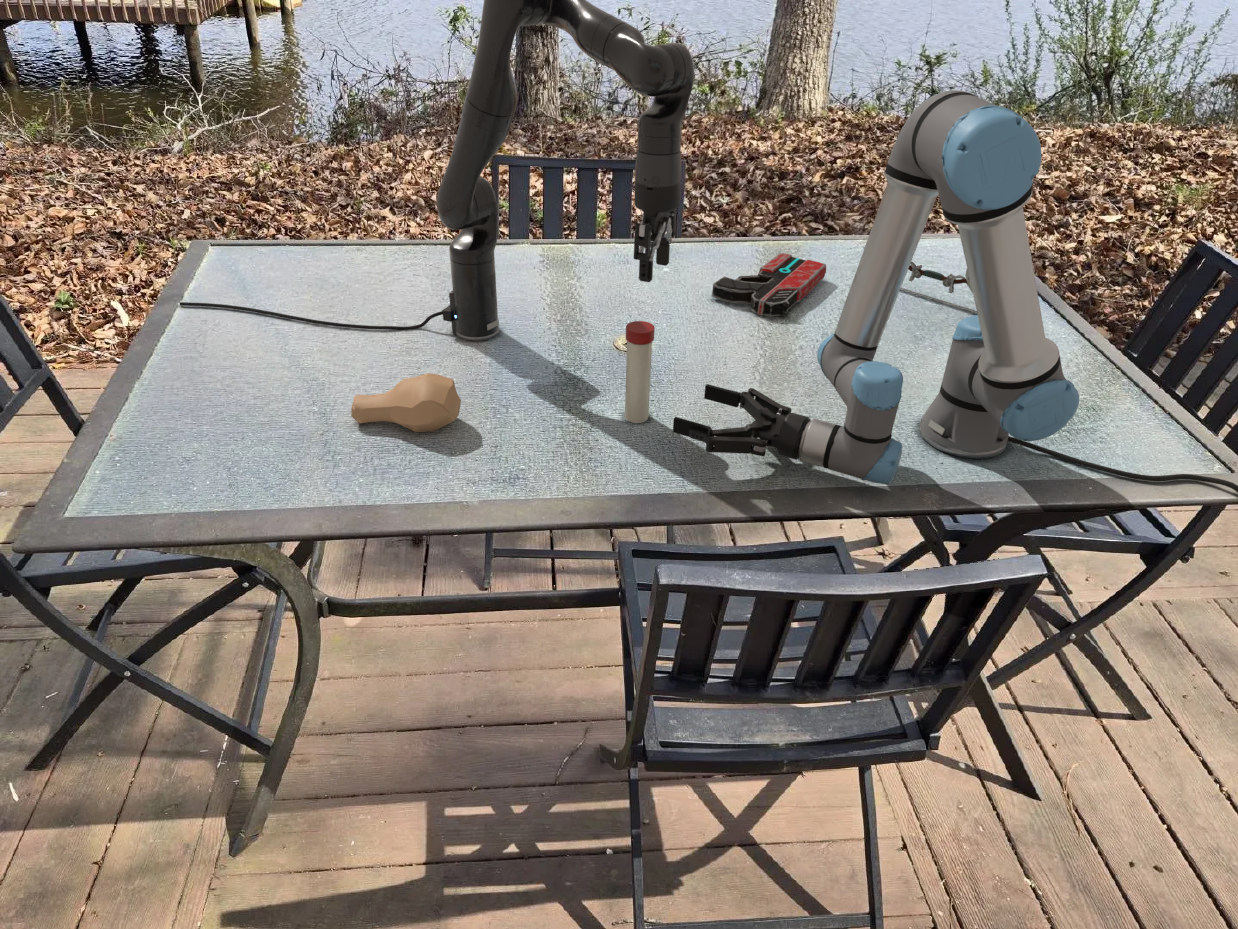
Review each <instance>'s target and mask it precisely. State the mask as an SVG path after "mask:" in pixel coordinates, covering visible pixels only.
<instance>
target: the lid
mask: <svg viewBox="0 0 1238 929" xmlns="http://www.w3.org/2000/svg"><path fill="white" fill-rule="evenodd" d="M655 328H656V327H655V325H654V324H653V323H652V322H649V321H646V320H645V321H644V320H635V321H631V322H628V323H627V324H626V325H625V340H626V342H627V341H628V342H630V343H633V344H639V345H643V344H649V343H651V342H652V343H653V342H654V340H655V330H656V329H655Z"/></svg>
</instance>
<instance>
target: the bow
mask: <svg viewBox="0 0 1238 929" xmlns="http://www.w3.org/2000/svg"><path fill="white" fill-rule="evenodd" d="M864 248H865V246H864V247H863V249H864ZM922 268H923V265H922V264H920V265H919V264H918V265H917V264H916V263H915V262H913V260H912V261H911V263H910V266H909V268H908V271H910V272H911V274H910V276H909V279H908V282H914V281H915V279H920V278H922V277H923V276H924V277H927V278H930V279H933V280H937V281H940V282H941V283H942V285H943V286H944V287H945V288H948V294H953V293H954V292H955V285H959V284H960V285H961V284H966V285H967V287H968V289H969V290H970V291H971V294H973V292H972V287H971V283H970V278H969V274H968V269H967V268H966V271H965V276H963V275H961V274H960V275H954V274H953V273H950V274H948V275H947V276H945V275H944V274H943V273H941V272H938V271H934V270H931V269H924V270H923V269H922ZM900 290H904V291H906V292H910V293H913V294H917V295H919V296H922V297H926V298H930V299H933V300H936V301H938V302H939V301H940V302H942V303H946V304H949V305H953V306H955V307H959V308H963V309H965V310H967V311H968V310H969V311H972V312H975V313H977V310H974V309H971V308H968V307H964V306H961V305H958V304H955V303H952V302H948V301H946V300H945V301H944V300H942V299H938V298H935V297H932V296H928V295H925V294H922V293H920V292H919V293H918V292H915V291H913V290H908V289H906V288H903V287H901V289H900Z"/></svg>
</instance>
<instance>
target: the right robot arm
mask: <svg viewBox="0 0 1238 929" xmlns="http://www.w3.org/2000/svg"><path fill="white" fill-rule="evenodd" d="M1040 141H1041V140H1040V138H1039V136H1038V134H1037V132H1036V130H1035V129H1034V127H1033V126H1032V125H1031V124H1030V123H1029V122H1028V121H1026V119H1024V118H1023V117H1022V116H1021V115H1019V113H1017V112H1015V111H1013V110H1012V109H1009V108H1007V107H1004V106H999V105H997V104H995V103H992V102H990V101H988V100H986V99H983V98H980V97H979V96H977V95H975V94H974V93H972V92H968V91H965V90H957V89H956V90H954V89H953V90H944V91H942V92H939V93H937V94H934V95H932V96H930V97H929V98H927V99H925V100H924V101H922V102H921V103H920V104H919V105H918V106H917V107H916V108H915V109H914V110H913V111H912V113H910V115H909V116H908V117H907V119H906V121H905V122H904V124H903V125H902V128H901V129H900V131H899V133H898V135H897V138H896V139H895V142H894V144H893V147H892V150H891V152H890V155H889V158H888V160H887V164H886V166H885V169H884V172H883V175H884V177H885V179H886V182H887V184H886V187H885V189H884V193H883V195H882V198H881V201H880V203H879V207H878V209H877V212H876V215H875V217H874V220H873V223H872V225H871V228H870V232H869V235H868V237H867V240H866V243H865V246H864V247H865V248H864V247H863V251H862V255H861V257H860V260H859V263H858V266H857V268H856V271H855V274H854V277H853V279H852V282H851V285H850V288H849V291H848V294H847V296H846V299H845V302H844V304H843V308H842V310H841V313H840V316H839V319H838V321H837V325H836V328H835V329H834V333H831V334H829V335H828V336H826V338H825V339H824V340H823V341H822V342H821V343H820V344H819V346H818V348H817V352H816V358H817V362H818V364H819V367H820V370H821V371H822V372H821V373H823V375H824V376H825V378H827V380H828V381H829V382H830V383H831V385H832V387H833V388H834V389H835V391H836V392H837V394H838V395H839V397H840V399H841V400H842V401H843V403H844V404H845V406H846V415H845V419H844V423H843V424H844V425H840V424H837V423H833V422H829V421H825V420H822V419H818V418H813V419H812V420H811V418H810V417H809V416H805V415H803V414H798V413H795V412H792V408H791V407H789V406H786V405H783V404H780V403H779V402H778V401H776V400H774V399H772V398H770V397H769V396H767V395H765V394H764V393H762V392H760V391H759V390H757V389H755V388H752V387H750V388H748V390H747V391H741V392H739V391H736V390H731V389H727V388H723V387H720V386H716V385H712V384H709V383H706V384H705V386H704V396H703V399H704V400H708V401H711V402H716V403H718V404H723V405H726V406H730V407H732V408H733V407H734V408H739V409H743V410H745V411H746V413H748V415H749V416H751V417H752V418H753V419H754V421H752V422H751V423H748V424H746V425H744V426H740V427H739V426H738V427H731V428H729V427H728V428H719V429H713V428H712V427H711V426H709V425H706V424H703V423H699V422H695V421H692V420H689V419H685V418H683V417H677V416H675V417H674V418H673V422H672V423H673V424H672V433H674V434H677V435H681V436H684V437H688V438H690V439H693V440H696V441H698V442H702V443H705V452H707V453H716V454H717V453H718V454H725V453H726V454H744V455H745V454H747V455H748V454H749V455H755V456H759V457H764V456H766V450H767V447H769V448H770V447H771V448H775V450H776V453H777V454H778V455H779V456H781V457H784V458H788V459H792V460H795V461H797V460H799V459H800V460H801V462H803V463H806V464H809V465H814V466H816V467H820V468H824V469H828V470H829V471H833V472H837V473H840V474H843V475H847V476H850V477H853V478H857V479H859V480H861V481H867V482H871V483H875V484H881V485H888V484H890V483H891V482H892V481H893V480H894V478H895V475H896V473H897V471H898V468H899V466H900V462H901V461H900V460H901V458H902V453H903V448H904V447H903V446H904V445H903V443H902V442H901V441H899V440H897V439H895V438H893V434H892V433H893V430H894V429H893V428H894V424H895V420H896V416H897V413H898V409H899V405H900V402H901V399H902V393H903V391H902V388H903V383H904V375H903V372H901V370H900V369H899V368H897V367H896V366H892V364H890V363H888V362H885V361H878V360H877V361H876V360H874V358H875V355H876V353H877V349H878V347H879V345H880V342H881V340H882V337H883V335H884V332H885V329H886V326H887V324H888V322H889V319H890V316H891V314H892V311H893V309H894V306H895V304H896V301H897V299H898V296H899V293H900V291H901V290H902V289H901V288H902V286H903V283H904V281H905V279H906V276H907V273H908V271H909V270H908V268H909V266H910V265H911V264H910V263H911V261H912V262H913V258H914V256H915V253H916V250H917V249H918V245H919V243H920V241H921V238H922V236H923V232H924V230H925V228H926V225H927V222H928V220H929V217H930V216H931V212H932V209H933V208H934V204H935V202H936V200H937V198H938V197H939V202H940V206H941V211H942V214H943V218H944V220H946V221H947V222H949V223H951V224H954V225H956V226H957V229H958V233H959V237H960V242H961V246H962V250H963V255H964V259H965V260H964V261H965V264H966V265H965V266H966V270H967V269H968V274H969V278H970V283H971V287H972V292H973V293H972V292H971V293H972V297H973V302H974V305H975V309H976V310H975V311H977V312H976V314H975V315H970V316H966V317H964V318H963V319H961V320H960V321H959V322H958V323H957V325H956V328H955V330H954V333H953V335H952V337H951V340H952V341H951V345H950V350H949V353H948V356H947V361H946V365H945V369H944V373H943V375H942V376H943V377H942V380H941V384H940V388H939V392H938V393H937V395H936V396H935V398H934V399H933V401H932V402H931V404H930V405H929V406H928V408H927V409H926V411H925V412H924V414H923V416H922V417H921V420H920V424H919V427H918V428H919V434H920V436H921V437H922V439H923V440H924V441H925V442H926V443H927V444H928V445H930V446H931V447H933V448H935V449H937V450H939V451H941V452H942V453H946V454H949V455H952V456H954V457H959V458H964V459H973V460H979V459H980V460H982V459H983V460H984V459H989V458H994V457H996V456H999V455H1000V454H1002V453H1003V452H1005V451H1006V448H1007V444H1008V443H1012V444H1016V445H1018V446H1021V447H1025V448H1027V449H1031V450H1034V451H1037V452H1039V453H1042V454H1046V455H1049V456H1051V457H1054V458H1058V459H1061V460H1064V461H1065V462H1066V461H1067V462H1069V463H1073V464H1076V465H1079V466H1082V467H1086V468H1089V469H1092V470H1096V471H1100V472H1104V473H1108V474H1111V475H1116V476H1120V477H1125V478H1129V479H1134V480H1140V481H1147V482H1148V481H1149V482H1168V481H1169V482H1170V481H1175V480H1176V481H1177V480H1191V481H1196V482H1197V481H1199V482H1205V483H1211V484H1217V485H1221V486H1225V487H1227V488H1230V489H1232V490H1233V491H1235V492H1236V493H1238V484H1236V483H1234V482H1233V481H1232V482H1231V481H1229V480H1225V479H1222V478H1217V477H1211V476H1205V475H1198V474H1190V473H1175V474H1169V475H1147V474H1140V473H1134V472H1129V471H1124V470H1120V469H1116V468H1112V467H1108V466H1104V465H1100V464H1097V463H1094V462H1089V461H1086V460H1083V459H1079V458H1077V457H1073V456H1070V455H1067V454H1065V453H1061V452H1058V451H1055V450H1051V449H1050V448H1046V447H1043V446H1040V445H1037V444H1034V443H1031V442H1035V441H1040V440H1041V441H1042V440H1044V439H1046V438H1049V437H1051V436H1053V435H1055V434H1056V433H1058V432H1059V431H1061V430H1062V429H1064V428H1065V426H1067V425H1068V423H1069V421H1071V420H1072V419H1073V417H1075V415H1076V413H1077V411H1078V408H1079V405H1080V393H1079V391H1078V389H1077V388H1076V387H1075V384H1074V383H1073V382H1072V381H1071V380H1068V379H1067V378H1066V377H1065V375H1064V373H1063V367H1062V360H1061V354H1060V349H1059V347H1058V345H1057V343H1055V341H1053V340H1052V339H1050V338H1047V337H1046V333H1045V327H1044V320H1043V317H1042V311H1041V304H1040V299H1039V294H1038V288H1037V281H1036V276H1035V270H1034V264H1033V259H1032V252H1031V247H1030V240H1029V236H1028V229H1027V224H1026V218H1025V213H1024V206H1026V204H1027V203H1028V202H1029V201H1030V199H1031V198H1032V196H1033V191H1034V190H1033V184H1034V181H1033V180H1034V178H1035V177H1036V176H1038V174H1039V171H1040V168H1041V164H1042V145H1041V142H1040Z"/></svg>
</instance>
